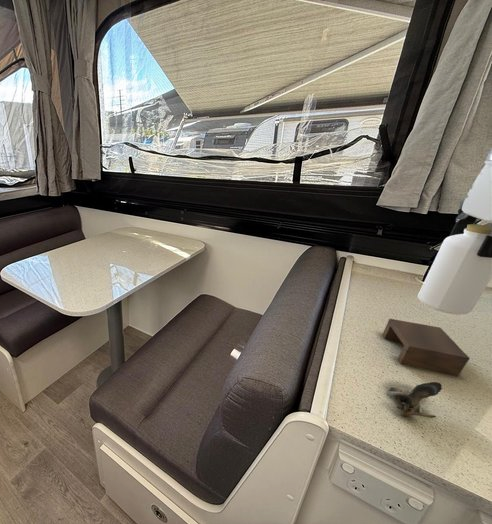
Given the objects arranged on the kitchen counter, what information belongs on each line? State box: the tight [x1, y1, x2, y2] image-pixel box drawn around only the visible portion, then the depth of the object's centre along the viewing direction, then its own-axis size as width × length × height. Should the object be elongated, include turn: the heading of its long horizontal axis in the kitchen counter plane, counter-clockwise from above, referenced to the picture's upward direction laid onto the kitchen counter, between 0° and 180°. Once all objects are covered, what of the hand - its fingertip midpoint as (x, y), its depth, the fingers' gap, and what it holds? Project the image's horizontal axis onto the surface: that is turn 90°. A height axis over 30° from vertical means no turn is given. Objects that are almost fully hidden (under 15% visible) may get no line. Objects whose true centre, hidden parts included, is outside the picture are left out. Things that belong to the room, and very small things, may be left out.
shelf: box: [381, 318, 471, 378], centre depth 64 cm, size 10×11×6 cm
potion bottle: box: [417, 223, 492, 316], centre depth 55 cm, size 8×8×18 cm
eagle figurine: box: [385, 381, 443, 419], centre depth 51 cm, size 8×7×9 cm
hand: (472, 248), depth 54 cm, fingers closed on potion bottle, 8 cm apart
